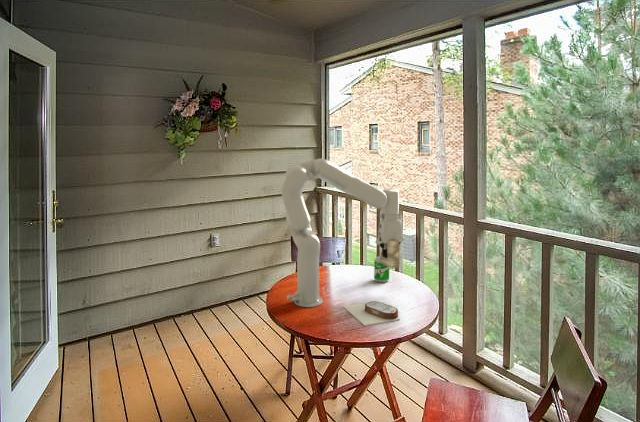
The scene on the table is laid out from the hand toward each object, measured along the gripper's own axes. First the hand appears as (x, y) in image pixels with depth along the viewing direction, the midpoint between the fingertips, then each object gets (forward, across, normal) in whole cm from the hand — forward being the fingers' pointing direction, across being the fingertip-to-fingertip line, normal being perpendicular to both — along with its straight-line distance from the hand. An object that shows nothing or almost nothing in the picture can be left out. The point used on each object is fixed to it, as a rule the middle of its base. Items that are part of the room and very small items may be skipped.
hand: (389, 256), depth 198 cm
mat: (+18, -18, -16) cm, 30 cm away
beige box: (+4, 0, 0) cm, 4 cm away
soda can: (+19, +7, +19) cm, 27 cm away
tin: (+16, -10, -16) cm, 25 cm away
